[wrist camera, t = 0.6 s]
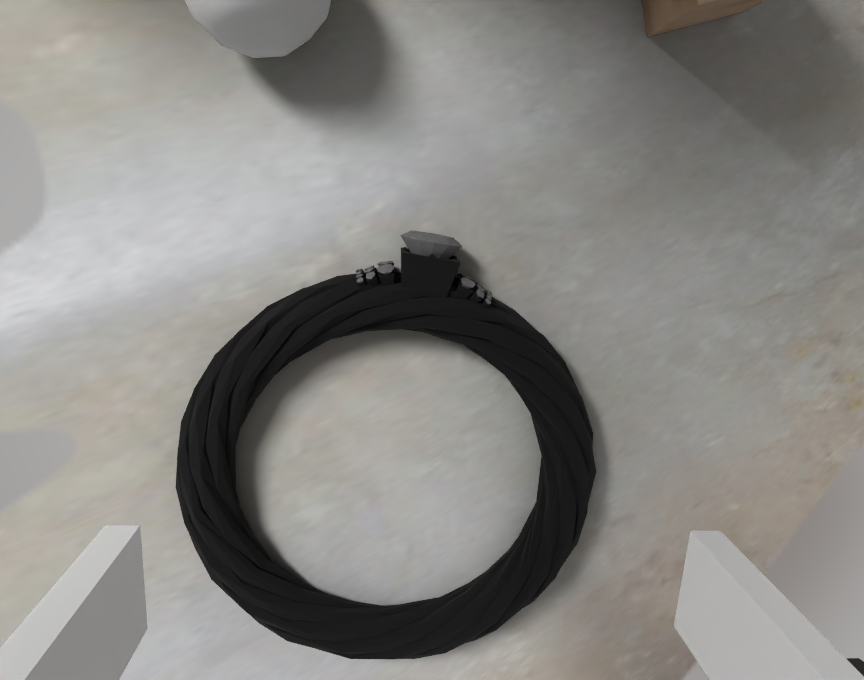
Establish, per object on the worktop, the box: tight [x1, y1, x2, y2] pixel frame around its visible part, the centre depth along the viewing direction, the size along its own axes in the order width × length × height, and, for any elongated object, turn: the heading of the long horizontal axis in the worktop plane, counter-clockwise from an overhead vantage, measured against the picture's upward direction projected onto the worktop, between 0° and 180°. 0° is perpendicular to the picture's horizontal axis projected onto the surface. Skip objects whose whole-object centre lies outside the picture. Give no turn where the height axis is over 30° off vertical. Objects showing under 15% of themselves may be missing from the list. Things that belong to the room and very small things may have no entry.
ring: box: [176, 231, 596, 659], centre depth 39 cm, size 28×4×30 cm
